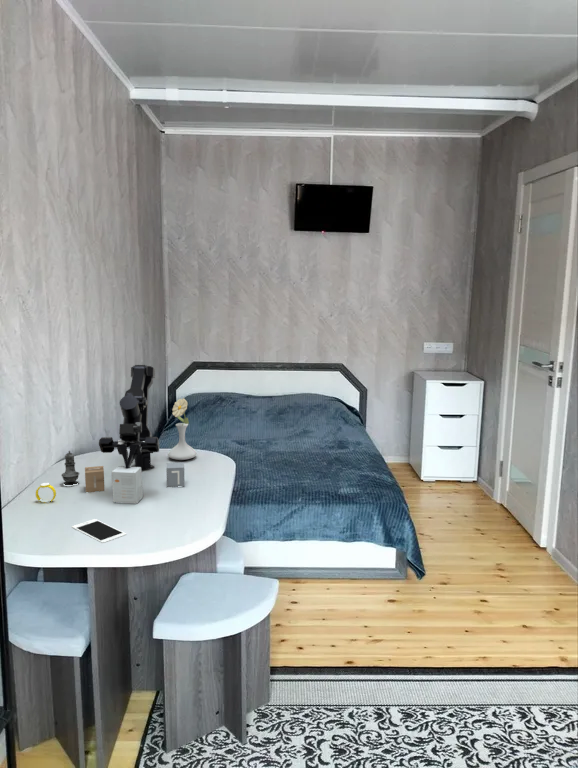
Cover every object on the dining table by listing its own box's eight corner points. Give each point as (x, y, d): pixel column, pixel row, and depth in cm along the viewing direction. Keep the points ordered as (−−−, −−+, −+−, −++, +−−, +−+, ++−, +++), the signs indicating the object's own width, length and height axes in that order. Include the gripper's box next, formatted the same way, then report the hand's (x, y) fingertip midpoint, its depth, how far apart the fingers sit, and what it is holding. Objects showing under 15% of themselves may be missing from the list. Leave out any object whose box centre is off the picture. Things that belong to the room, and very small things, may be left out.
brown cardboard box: (85, 487, 207) (84, 466, 205) (104, 485, 209) (103, 465, 207) (85, 493, 201) (84, 472, 200) (104, 491, 203) (103, 470, 202)
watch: (35, 504, 191) (33, 486, 190) (39, 501, 194) (36, 483, 193) (54, 502, 191) (52, 484, 190) (57, 499, 194) (55, 482, 193)
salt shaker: (58, 485, 208) (56, 451, 206) (70, 480, 213) (68, 447, 211) (71, 487, 205) (70, 453, 203) (83, 482, 211) (82, 449, 209)
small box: (143, 497, 197) (142, 466, 195) (136, 504, 192) (135, 472, 190) (119, 496, 198) (118, 465, 196) (112, 502, 192) (111, 471, 190)
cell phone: (95, 520, 179) (95, 518, 179) (127, 535, 169) (127, 533, 169) (71, 528, 173) (71, 526, 173) (102, 544, 163) (102, 542, 163)
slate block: (167, 482, 213) (166, 463, 212) (184, 481, 214) (184, 462, 213) (166, 488, 207) (166, 468, 206) (184, 487, 208) (184, 467, 207)
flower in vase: (165, 455, 244) (163, 395, 240) (192, 452, 249) (192, 393, 244) (172, 464, 232) (171, 401, 228) (201, 461, 237) (200, 399, 233)
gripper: (98, 413, 195) (92, 455, 186) (157, 412, 197) (154, 455, 187) (104, 431, 204) (98, 472, 195) (160, 430, 206) (157, 471, 196)
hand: (127, 467), depth 193 cm, fingers closed, pressing on small box
